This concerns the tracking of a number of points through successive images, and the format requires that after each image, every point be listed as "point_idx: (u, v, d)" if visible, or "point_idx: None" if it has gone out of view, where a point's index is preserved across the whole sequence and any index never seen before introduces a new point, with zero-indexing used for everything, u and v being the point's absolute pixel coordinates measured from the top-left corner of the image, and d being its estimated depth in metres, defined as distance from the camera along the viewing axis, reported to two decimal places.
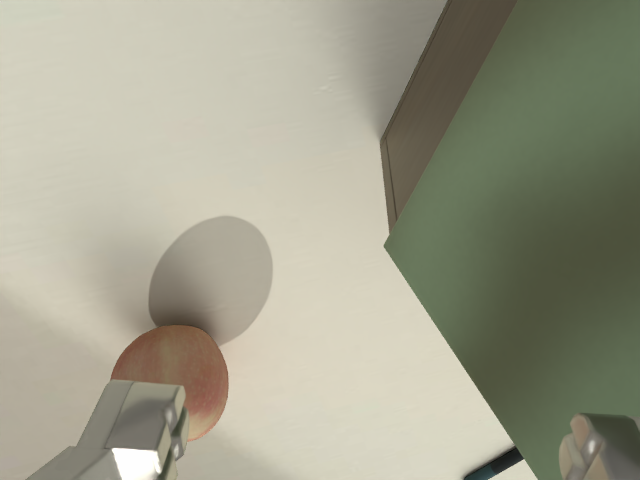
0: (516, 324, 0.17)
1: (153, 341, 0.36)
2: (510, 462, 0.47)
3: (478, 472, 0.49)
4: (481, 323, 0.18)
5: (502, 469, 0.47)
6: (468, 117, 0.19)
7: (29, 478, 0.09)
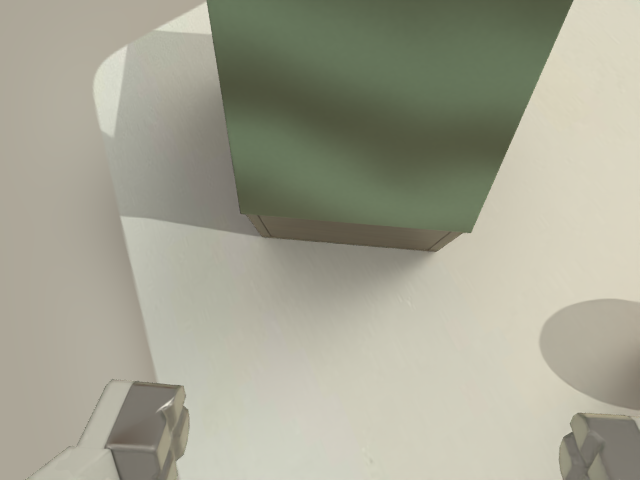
0: (449, 147, 0.27)
1: None
2: None
3: None
4: (466, 163, 0.27)
5: None
6: (361, 217, 0.32)
7: (29, 478, 0.09)
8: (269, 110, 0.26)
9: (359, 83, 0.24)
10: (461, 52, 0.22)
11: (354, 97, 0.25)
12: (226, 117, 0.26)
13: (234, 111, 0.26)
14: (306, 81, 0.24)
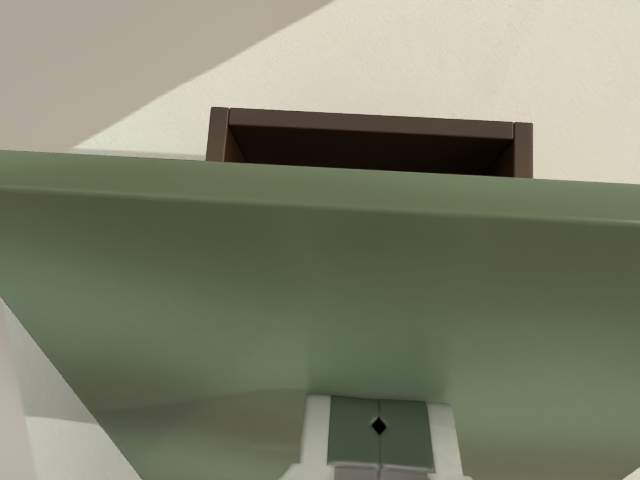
0: (517, 471, 0.15)
1: None
2: None
3: None
4: None
5: None
6: None
7: None
8: (181, 427, 0.14)
9: None
10: (563, 378, 0.10)
11: None
12: (106, 430, 0.14)
13: (118, 426, 0.14)
14: (242, 400, 0.12)
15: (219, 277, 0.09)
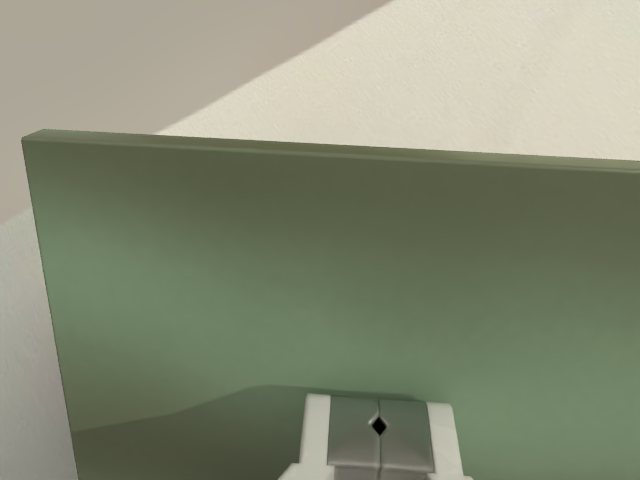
0: None
1: None
2: None
3: None
4: None
5: None
6: None
7: None
8: None
9: None
10: (540, 372, 0.11)
11: None
12: None
13: None
14: (237, 430, 0.12)
15: (238, 238, 0.11)
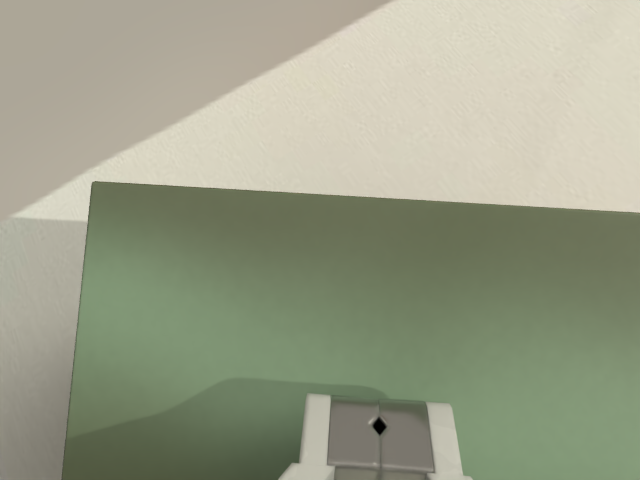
0: None
1: None
2: None
3: None
4: None
5: None
6: None
7: None
8: None
9: None
10: (523, 399, 0.12)
11: None
12: None
13: None
14: (234, 474, 0.12)
15: (253, 265, 0.13)
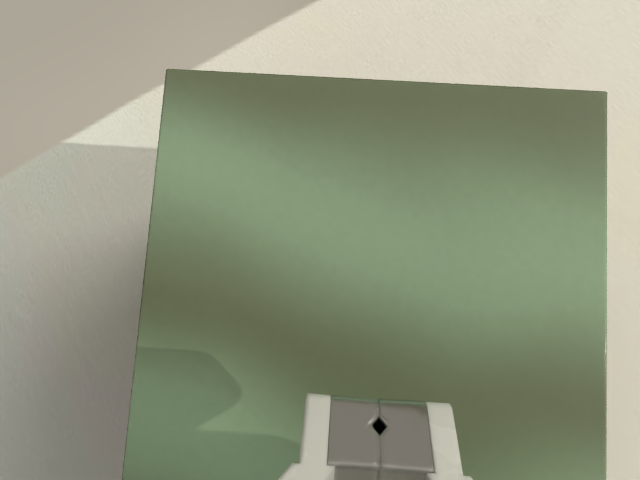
0: (508, 414, 0.16)
1: None
2: None
3: None
4: (544, 453, 0.15)
5: None
6: None
7: None
8: (209, 339, 0.16)
9: (351, 281, 0.16)
10: (489, 224, 0.16)
11: (344, 307, 0.16)
12: (137, 357, 0.16)
13: (152, 344, 0.16)
14: (272, 279, 0.16)
15: (287, 128, 0.17)
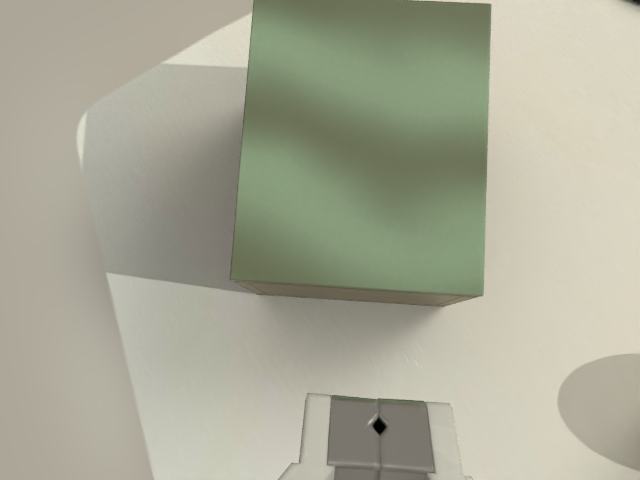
0: (436, 167, 0.30)
1: None
2: None
3: None
4: (454, 185, 0.30)
5: None
6: (362, 275, 0.30)
7: None
8: (280, 132, 0.31)
9: (355, 102, 0.31)
10: (427, 72, 0.31)
11: (351, 115, 0.31)
12: (242, 142, 0.31)
13: (250, 135, 0.31)
14: (313, 102, 0.31)
15: (320, 24, 0.32)
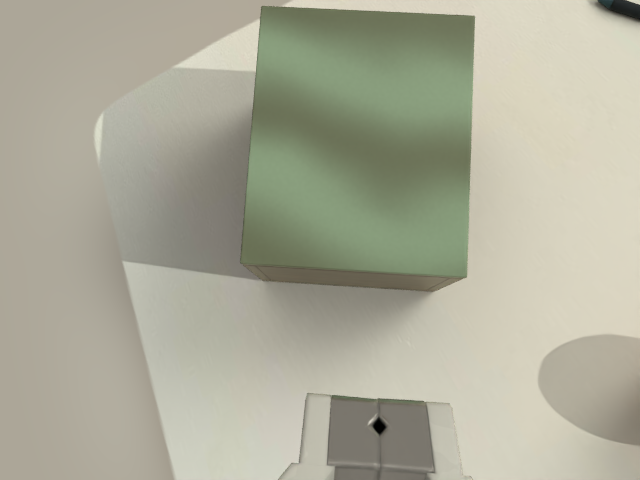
0: (425, 162, 0.34)
1: None
2: None
3: None
4: (441, 179, 0.34)
5: None
6: (358, 259, 0.33)
7: None
8: (285, 131, 0.34)
9: (352, 104, 0.34)
10: (417, 77, 0.34)
11: (349, 116, 0.34)
12: (251, 139, 0.34)
13: (258, 134, 0.34)
14: (315, 104, 0.34)
15: (321, 34, 0.35)
